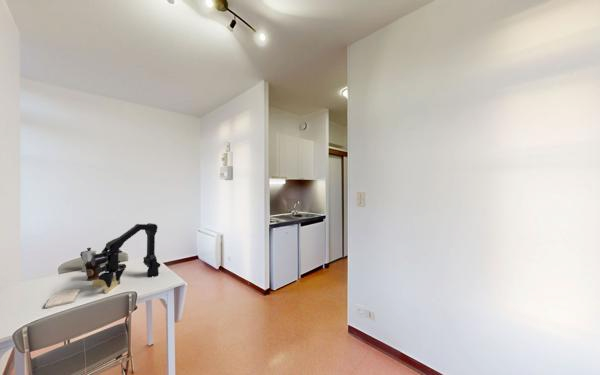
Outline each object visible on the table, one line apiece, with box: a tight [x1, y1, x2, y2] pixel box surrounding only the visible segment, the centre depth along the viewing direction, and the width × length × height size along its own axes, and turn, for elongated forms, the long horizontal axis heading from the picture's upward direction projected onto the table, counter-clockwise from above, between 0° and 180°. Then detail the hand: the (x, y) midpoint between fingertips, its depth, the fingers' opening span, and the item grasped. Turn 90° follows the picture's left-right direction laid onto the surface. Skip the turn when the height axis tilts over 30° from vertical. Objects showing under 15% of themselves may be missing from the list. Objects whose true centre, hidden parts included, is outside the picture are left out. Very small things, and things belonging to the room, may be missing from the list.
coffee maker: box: [80, 247, 97, 273], centre depth 176 cm, size 15×9×18 cm, turn 77°
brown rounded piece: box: [85, 261, 101, 281], centre depth 160 cm, size 9×8×13 cm
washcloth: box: [44, 287, 82, 309], centre depth 133 cm, size 12×18×3 cm, turn 35°
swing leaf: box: [104, 278, 121, 294], centre depth 147 cm, size 15×3×6 cm, turn 12°
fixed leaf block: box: [92, 274, 116, 289], centre depth 152 cm, size 12×4×5 cm, turn 118°
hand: (113, 284), depth 145 cm, fingers open, 9 cm apart
